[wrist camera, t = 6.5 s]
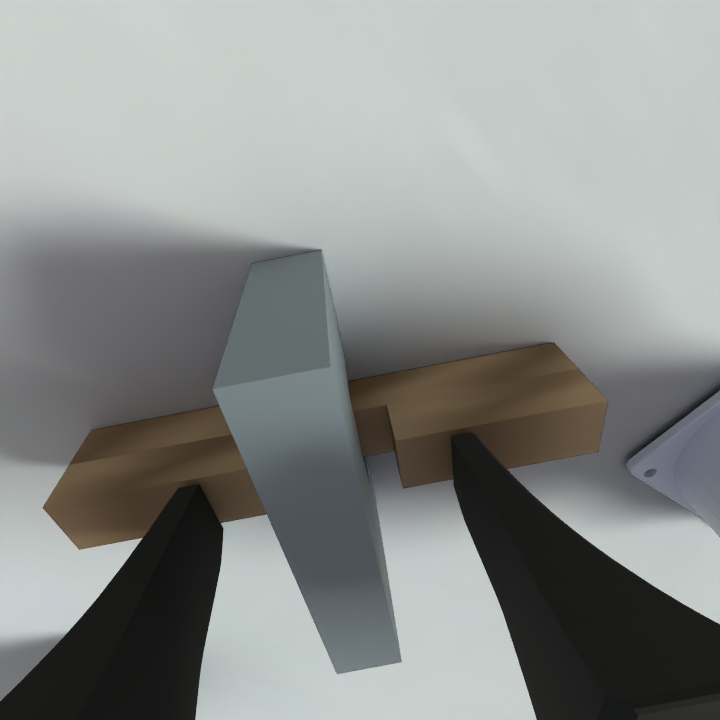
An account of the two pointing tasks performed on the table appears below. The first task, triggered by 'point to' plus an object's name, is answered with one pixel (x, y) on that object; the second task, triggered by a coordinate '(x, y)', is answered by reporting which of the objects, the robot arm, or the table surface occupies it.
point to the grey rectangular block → (309, 454)
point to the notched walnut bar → (375, 430)
